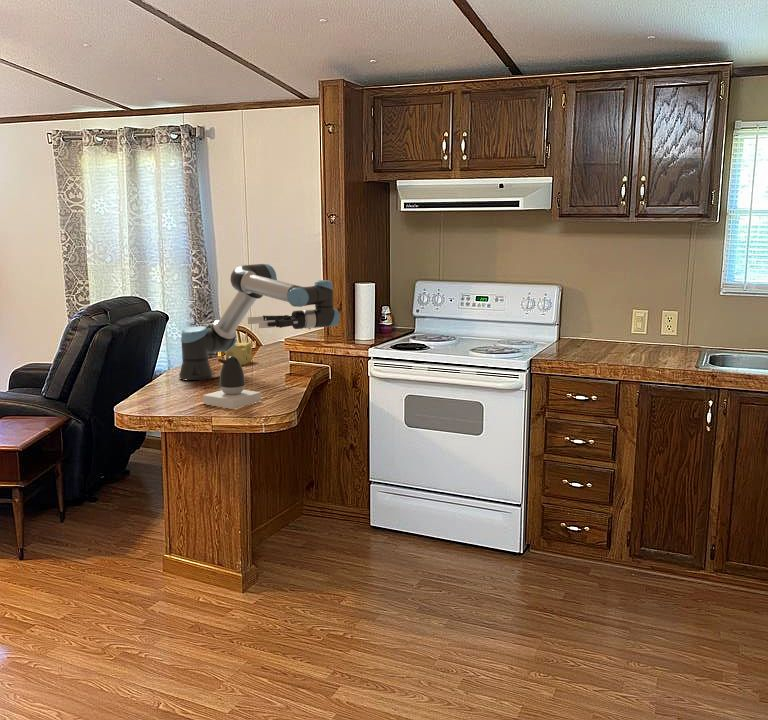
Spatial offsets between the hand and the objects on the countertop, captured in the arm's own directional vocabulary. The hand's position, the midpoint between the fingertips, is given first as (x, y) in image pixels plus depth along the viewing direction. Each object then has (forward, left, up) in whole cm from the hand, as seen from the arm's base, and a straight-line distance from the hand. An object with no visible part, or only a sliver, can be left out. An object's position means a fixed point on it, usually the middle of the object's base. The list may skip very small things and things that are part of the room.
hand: (253, 322), depth 319 cm
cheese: (-64, +61, -32) cm, 94 cm away
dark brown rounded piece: (-5, -8, -28) cm, 30 cm away
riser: (-5, -8, -32) cm, 33 cm away
